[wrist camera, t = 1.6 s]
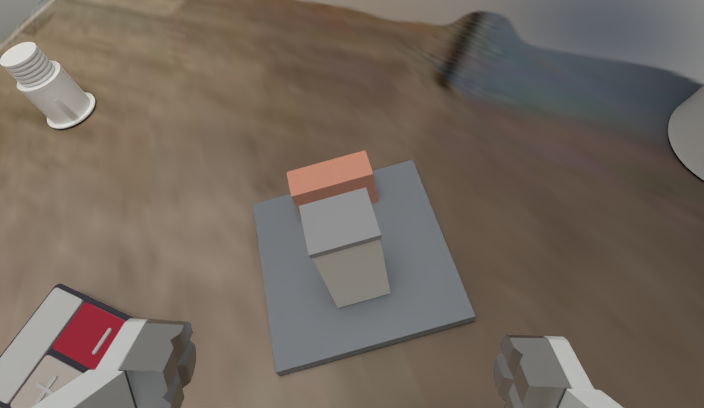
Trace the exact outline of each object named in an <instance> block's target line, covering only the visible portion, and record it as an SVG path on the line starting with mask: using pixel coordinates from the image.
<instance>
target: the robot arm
mask: <svg viewBox="0 0 704 408" xmlns="http://www.w3.org/2000/svg"><path fill="white" fill-rule="evenodd" d="M668 136H669V140H670V143H671V146H672V148H673V150H674V152H675V153H676V155H677V156H678V158H679V159H680V160H681V161H682V162H683V164H684V165H685V166H686V167H687V168H688V169H689V170H691V171H692V172H693V173H694V174H695V175H697V176H698V177H699V178H701V179H702V180H704V85H703V86H702V87H701V88H700V89H699V90H698V91H697V92H695V93H694V94H693V95H692V96H691V97H689V98H688V99H687V100H686V101H684V102H683V103H682V104H680V105H679V106H678V107H677V108H676V109H675V111H674V112H673V114H672V115H671V117H670V120H669V124H668ZM192 333H193V332H192V328H191V323H189V322H183V321H168V320H153V319H149V320H148V319H133V318H130V319H128V320H127V321H126V322H125V323H124V324H123V326H122V327H121V329H120V330H119V332H118V334H117V335H116V337H115V339H114V340H113V342H112V343H111V345H110V347H109V348H108V350H107V351H106V353H105V355H104V356H103V358H102V359H101V361H100V363H99V364H98V366H97V367H96V369H95V370H88V371H86V372H85V373H83V374H82V375H80V376H79V377H77V378H75V379H74V380H72V381H71V382H69V383H68V384H66V385H65V386H63V387H62V388H60V389H59V390H57V391H56V392H54V393H53V394H51V395H50V396H48V397H47V398H45V399H44V400H42V401H40V402H39V403H37V404H36V405H34V406H33V407H31V408H180V407H181V405H182V402H183V399H184V394H183V389H182V388H183V387H185V386H186V385H187V384H188V383H190V381H191V378H192V375H193V373H194V368H195V363H196V349H195V344H193V343H192V342H191V341H190V337H191V335H192ZM500 346H501V349H502V351H503V353H502V354H500V355H499V356H498V357H497V358H496V362H495V366H494V379H495V385H496V389H497V392H498V395H499V396H501V397H502V398H503V399H504V400H505V401H506V403H505V406H504V408H623V407H622V406H620V405H619V404H618V403H617V402H615V401H614V400H613V399H611V398H610V397H609V396H608V395H606V394H605V393H604V392H602V391H601V390H594V388H593V386H592V384H591V382H590V380H589V379H588V377H587V375H586V373H585V371H584V369H583V368H582V366H581V364H580V362H579V360H578V359H577V357H576V355H575V353H574V351H573V349H572V348H571V346H570V344H569V342H568V340H567V339H566V338H564V337H557V336H527V335H505V336H504V337H503V339H502V342H501V345H500Z"/></svg>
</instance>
